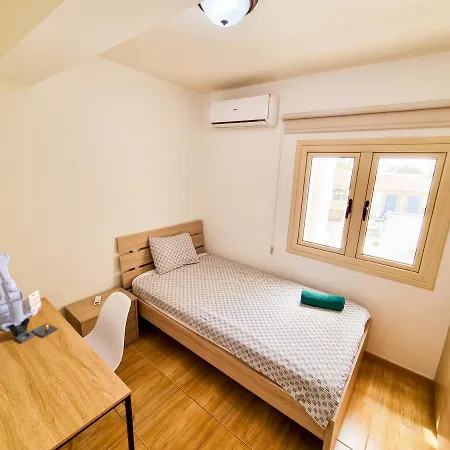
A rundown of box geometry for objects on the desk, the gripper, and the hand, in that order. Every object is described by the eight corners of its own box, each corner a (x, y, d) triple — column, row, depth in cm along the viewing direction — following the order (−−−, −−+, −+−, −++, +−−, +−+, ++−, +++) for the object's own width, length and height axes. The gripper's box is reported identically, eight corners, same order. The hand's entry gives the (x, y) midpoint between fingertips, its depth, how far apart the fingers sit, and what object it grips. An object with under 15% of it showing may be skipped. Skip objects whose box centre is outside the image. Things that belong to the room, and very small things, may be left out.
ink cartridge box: (34, 309, 165) (31, 289, 162) (42, 309, 165) (39, 289, 162) (24, 317, 157) (20, 295, 154) (32, 317, 157) (28, 295, 154)
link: (12, 337, 137) (10, 328, 136) (24, 331, 142) (22, 322, 141) (22, 343, 133) (20, 333, 132) (34, 336, 138) (33, 327, 137)
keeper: (31, 332, 142) (30, 325, 141) (46, 324, 149) (45, 318, 148) (43, 337, 138) (41, 330, 137) (57, 329, 145) (56, 322, 144)
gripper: (4, 320, 128) (8, 343, 131) (35, 307, 141) (38, 328, 143) (-3, 317, 131) (1, 339, 133) (27, 304, 144) (31, 325, 146)
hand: (20, 333), depth 139 cm, fingers closed on link, 4 cm apart
